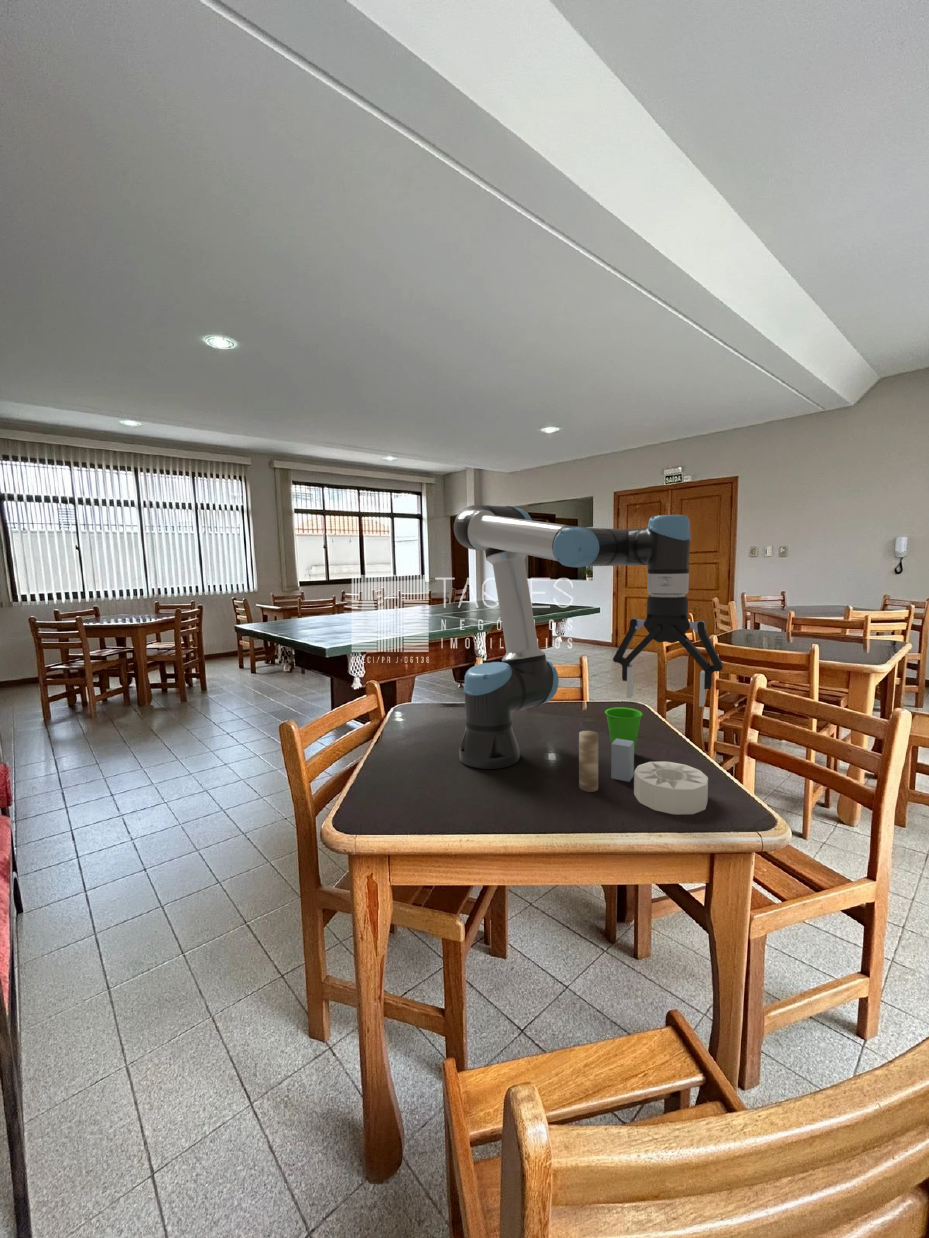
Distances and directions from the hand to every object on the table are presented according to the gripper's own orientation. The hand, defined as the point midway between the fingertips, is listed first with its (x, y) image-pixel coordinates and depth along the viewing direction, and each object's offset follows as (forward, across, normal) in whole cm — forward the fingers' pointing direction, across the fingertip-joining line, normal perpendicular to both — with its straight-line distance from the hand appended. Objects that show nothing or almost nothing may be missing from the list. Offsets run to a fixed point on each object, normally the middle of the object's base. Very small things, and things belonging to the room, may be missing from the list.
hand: (664, 700), depth 101 cm
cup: (+21, -12, +19) cm, 31 cm away
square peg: (+20, -10, +6) cm, 23 cm away
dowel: (+20, -15, -3) cm, 25 cm away
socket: (+20, +2, 0) cm, 20 cm away
